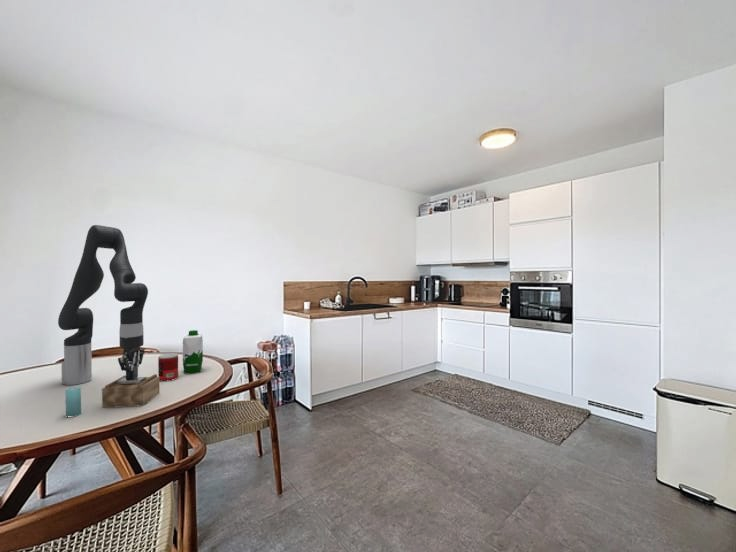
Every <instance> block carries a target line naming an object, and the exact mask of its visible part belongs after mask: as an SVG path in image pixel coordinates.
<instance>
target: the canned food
mask: <svg viewBox="0 0 736 552" xmlns="http://www.w3.org/2000/svg"><path fill="white" fill-rule="evenodd" d="M157 359H158V360H157V361H158V366H157V367H158V371H157V372H158V375H157V377H159V382H168V381H167V380H170V381H173V380H172V379H174V380H176V379H177V378H178V377H179V354H178V353H176V352H175V353H173V352H172V353H164V354H161V355H158V357H157ZM175 378H176V379H175Z"/></svg>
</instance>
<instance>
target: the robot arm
mask: <svg viewBox="0 0 736 552" xmlns="http://www.w3.org/2000/svg"><path fill="white" fill-rule="evenodd" d="M85 237H86V238H85V242H84V246H83V252H82V254H81V255H82V256H81V258H80V262H79V264H78V266H77V269H76V271H75V275H74V278H73V281H72V284H71V287H70V291H69V293H68V296H67V297H66V300H65V302H64V304H63V306H62V308H61V309H60V311H59V312H60V313H59V315H58V319H57V324H58V327H59V328H60V329H61V330H63V331H74V330H77V331H76V332H75V333H74V334H72V335H70V336H67V337H66V338H64V341H63V359H64V360H63V361H62V362H61V385H66V386H75V385H81V384H84V383H88V382H90V381H92V380H93V379H92V376H93V375H92V371H93V370H92V369H93V368H92V367H93V366H92V365H93V363H92V359H93V358H92V339H93V333H94V332H93V331H94V330H93V329H94V314H93V311H92V310H91V308H88V307H81V306H82V305H83V304H84V303H85V302H86V301H87V300H88V299H89V298H91V297H92V296H93V295H95V294H96V293H97V292H98V291H99V289H100V288H101V285H102V283H103V280H104V277H105V273H104V270H103V268H102V266H101V264H100V262H99V259H98V258H97V251H98V249H99V248H100V249H109V250H113V251H114V255H113V257H112V259H111V260H110V262H109V271H110V273H111V274H110V275H111V276H112V279H113V282H114V292H113V294H114V295H113V296H114V298H115V299H116V300H117V301H118V302H120V303H128V302H133V304H132V305H131V306H128V307H125V308H122V309H121V310H120V313H119V316H120V319H119V321H120V326H119V348H120V349H122V350H123V351H122V356H121V357H118V358H117V361H118V364H119V367H120V370H121V371H123V372H124V371H125V375H126V380H133V365H137V377H139V367H140V365H142V363H143V358H144V354H145V349H141V347H143V346H144V322H143V320H144V319H143V316H144V315H143V312H144V307H145V304H146V301H147V298H148V294H149V289H148V287H147V285H146V284H144V283H141V282H135V280H136V278H137V276H136V274H135V272H134V270H133V267H132V265H131V263H130V260H129V256H128V250H127V245H126V242H125V237H124V234H123V232H122V231H121V230H120V228H117V227H114V226H106V225H99V224H98V225H97V224H94V225H91V226H90V228H89V230H88V231H87V235H86V236H85ZM80 307H81V308H80Z"/></svg>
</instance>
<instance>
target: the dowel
mask: <svg viewBox="0 0 736 552" xmlns="http://www.w3.org/2000/svg"><path fill="white" fill-rule="evenodd" d="M64 395H65V417H66V416H67V417H66V418H69V417H68V416H74V417H76V416H75V415H77V416H80V415H81V414H82V387H81V386H80V387H79V386H74V387H70V388H67V389H65V394H64ZM80 413H81V414H80Z"/></svg>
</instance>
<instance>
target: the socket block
mask: <svg viewBox="0 0 736 552" xmlns="http://www.w3.org/2000/svg"><path fill="white" fill-rule="evenodd" d="M145 377H146V380H144V381H143V382H141V383H138V384H118V381H119V380H121V379H122V378H126V374H125V375H123V376H121V377H119V378H117V379H115V380H114V381H112V382H110V383H108V384H106V385H105V386H104V387H103V388H101V408H102V407H104V408H117V407H116V406H125V407H141V406H140V405H144V406H145V405H146V404H147V402H148V401H149V402H151V399H152V400H153V399H154V398H156V397H157V396H159V394H160V380H159V376H158V375H157V373H155V374H153V375H151V376H145ZM149 402H148V403H149ZM137 405H139V406H137Z"/></svg>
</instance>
